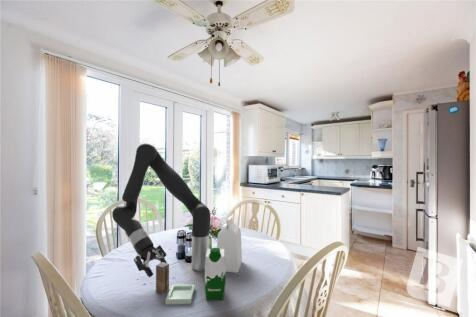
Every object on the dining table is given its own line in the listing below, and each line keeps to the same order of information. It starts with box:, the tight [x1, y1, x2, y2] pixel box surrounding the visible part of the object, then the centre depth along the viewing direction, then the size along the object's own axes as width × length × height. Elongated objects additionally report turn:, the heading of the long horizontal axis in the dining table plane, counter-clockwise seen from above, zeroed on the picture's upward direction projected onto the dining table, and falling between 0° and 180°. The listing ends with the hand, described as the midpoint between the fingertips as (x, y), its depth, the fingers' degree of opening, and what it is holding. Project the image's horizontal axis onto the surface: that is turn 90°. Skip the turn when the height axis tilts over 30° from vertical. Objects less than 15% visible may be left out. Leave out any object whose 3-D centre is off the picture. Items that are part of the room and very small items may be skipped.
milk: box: [216, 216, 243, 274], centre depth 117 cm, size 12×12×26 cm
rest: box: [165, 284, 196, 305], centre depth 91 cm, size 10×10×2 cm
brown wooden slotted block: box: [155, 261, 170, 295], centre depth 95 cm, size 4×4×11 cm
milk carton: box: [204, 247, 227, 301], centre depth 92 cm, size 9×9×20 cm
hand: (159, 271), depth 96 cm, fingers open, 8 cm apart
